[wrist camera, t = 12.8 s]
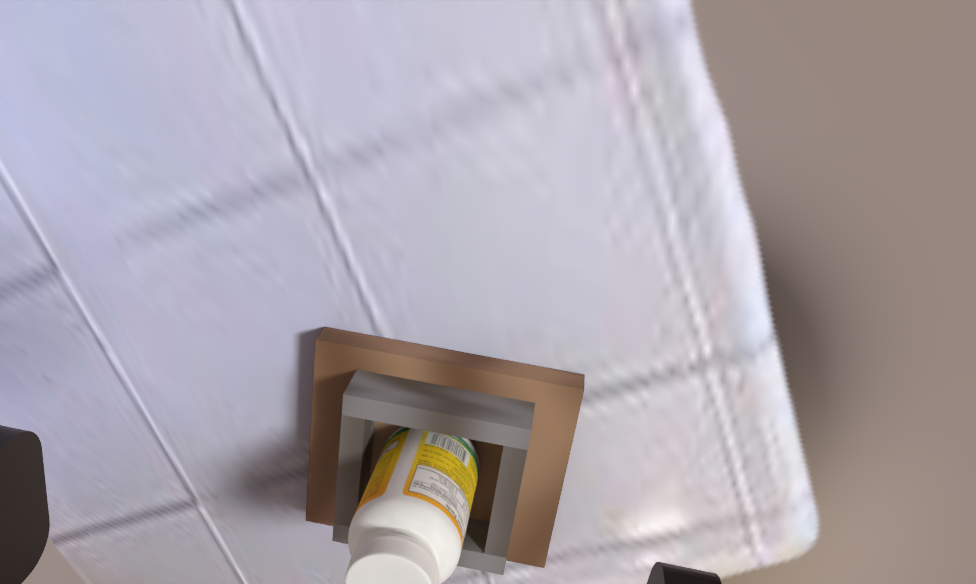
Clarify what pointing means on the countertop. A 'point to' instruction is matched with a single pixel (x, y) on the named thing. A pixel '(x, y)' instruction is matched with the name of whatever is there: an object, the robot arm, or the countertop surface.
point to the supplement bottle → (414, 510)
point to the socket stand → (451, 411)
